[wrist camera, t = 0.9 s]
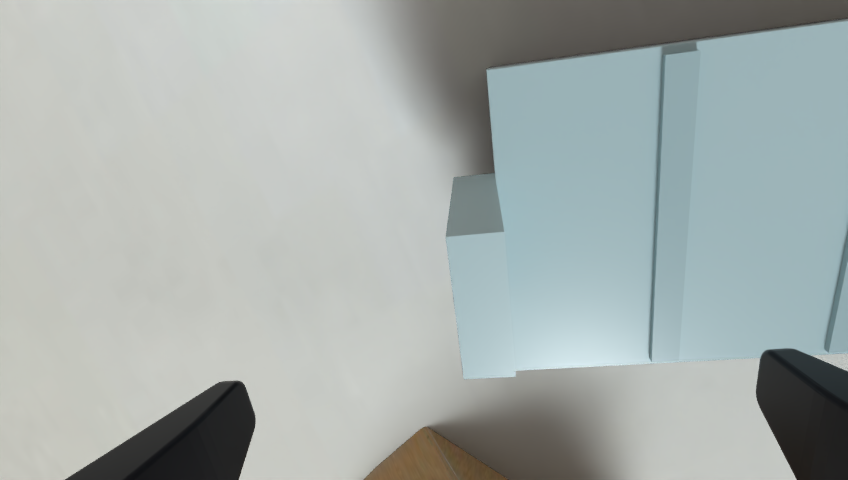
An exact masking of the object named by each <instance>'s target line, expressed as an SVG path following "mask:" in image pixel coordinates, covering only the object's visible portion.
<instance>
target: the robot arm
mask: <svg viewBox="0 0 848 480" xmlns="http://www.w3.org/2000/svg"><path fill="white" fill-rule="evenodd" d="M756 397H757V401H758V404H759V406H760V409H761V411H762V413H763V414H764V416H765V418H766V420H767V422H768V424H769V426H770V428H771V430H772V432H773V434H774V436H775V438H776V440H777V442H778V444H779V446H780V448H781V450H782V452H783V454H784V456H785V458H786V460H787V462H788V463H789V465H790V467H791V469H792V471H793V473H794V475H795V477H796V479H797V480H848V372H847V371H845V370H843V369H840V368H838V367H836V366H833V365H831V364H829V363H827V362H824V361H822V360H820V359H817V358H815V357H813V356H810V355H808V354H806V353H803V352H801V351H799V350H796V349H792V348H783V349H768V350H766V351H764V352H763V353H762V355H761V358H760V364H759V371H758V379H757V386H756ZM254 428H255V413H254V410H253V407H252V405H251V402H250V399H249V396H248V393H247V390H246V387H245V385H244V384H243V383H242V382H241V381H223V382H219V383H217V384H215V385H214V386H212V387H210V388H209V389H207V390H206V391H204V392H203V393H201V394H199V395H198V396H196V397H195V398H193V399H192V400H190V401H188V402H187V403H185V404H184V405H182V406H180V407H179V408H177V409H176V410H174V411H173V412H171V413H169V414H168V415H166V416H165V417H163V418H162V419H160V420H158V421H157V422H155V423H154V424H152V425H150V426H149V427H147V428H146V429H144V430H143V431H141V432H139V433H138V434H136V435H135V436H133V437H132V438H130V439H128V440H127V441H125V442H124V443H122V444H120V445H119V446H117V447H116V448H114V449H113V450H111V451H109V452H108V453H106V454H105V455H103V456H102V457H100V458H98V459H97V460H95V461H94V462H92V463H90V464H89V465H87V466H86V467H84V468H83V469H81V470H79V471H78V472H76V473H75V474H73V475H72V476H70V477H68V478H67V479H65V480H239V477H240V474H241V470H242V467H243V464H244V461H245V458H246V454H247V451H248V448H249V445H250V442H251V438H252V435H253V432H254Z"/></svg>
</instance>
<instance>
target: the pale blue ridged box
mask: <svg viewBox="0 0 848 480" xmlns="http://www.w3.org/2000/svg"><path fill="white" fill-rule="evenodd" d="M486 75H487V87H488V99H489V111H490V123H491V135H492V147H493V159H494V171H495V173H490V174H481V175H472V176H462V177H454V180H453V187H452V194H451V201H450V209H449V216H448V223H447V231H446V244H447V252H448V259H449V267H450V275H451V283H452V291H453V299H454V306H455V314H456V322H457V330H458V338H459V345H460V353H461V361H462V369H463V377H464V379H480V378H500V377H516V372H515V371H519V370H538V369H557V368H576V367H595V366H614V365H633V364H652V363H671V362H690V361H710V360H729V359H748V358H761V355H762V353H763V352H764V351H766V350H768V349H783V348H792V349H796V350H799V351H801V352H803V353H806V354H808V355H824V354H843V353H848V19H845V20H837V21H830V22H823V23H816V24H808V25H801V26H794V27H786V28H779V29H772V30H765V31H757V32H750V33H743V34H735V35H728V36H721V37H714V38H706V39H699V40H692V41H684V42H677V43H670V44H663V45H655V46H648V47H641V48H634V49H626V50H619V51H612V52H604V53H597V54H590V55H583V56H575V57H568V58H561V59H553V60H546V61H539V62H532V63H524V64H517V65H510V66H502V67H495V68H488V69H486Z"/></svg>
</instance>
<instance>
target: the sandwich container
mask: <svg viewBox="0 0 848 480" xmlns="http://www.w3.org/2000/svg"><path fill="white" fill-rule="evenodd" d="M364 480H508V479H506V478H505V477H503V476H502V475H500V474H499V473H497V472H496V471H494V470H493V469H491V468H490V467H488V466H487V465H485V464H483V463H482V462H480V461H479V460H477V459H476V458H474V457H473V456H471V455H470V454H468V453H467V452H465V451H464V450H462V449H460V448H459V447H457V446H456V445H454V444H453V443H451V442H450V441H448V440H447V439H445V438H444V437H442V436H441V435H439V434H437V433H436V432H434V431H433V430H431V429H430V428H428V427H423V428H422V429H420V430H419V431H418V432H417V433H415V434H414V435H413V436H412V437H411V438H410V439H408V440H407V441H406V442H405V443H404V444H403V445H401V446H400V447H399V448H398V449H397V450H396V451H394V452H393V453H392V454H391V455H390V456H389V457H387V458H386V459H385V460H384V461H383V462H382V463H380V464H379V465H378V466H377V467H376V468H375V469H374V470H373V471H372V472H371V473H370V474H369V475H368V476H367V477H366V478H365V479H364Z"/></svg>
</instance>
